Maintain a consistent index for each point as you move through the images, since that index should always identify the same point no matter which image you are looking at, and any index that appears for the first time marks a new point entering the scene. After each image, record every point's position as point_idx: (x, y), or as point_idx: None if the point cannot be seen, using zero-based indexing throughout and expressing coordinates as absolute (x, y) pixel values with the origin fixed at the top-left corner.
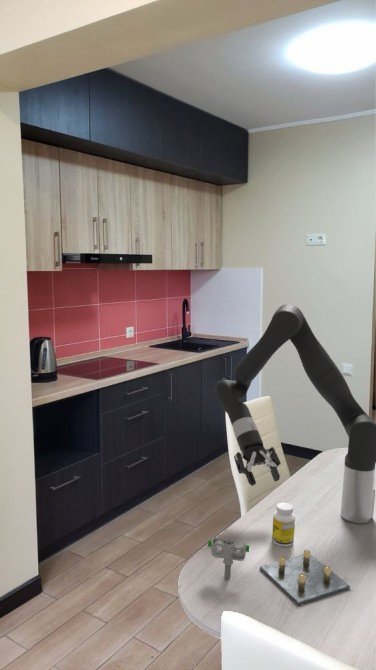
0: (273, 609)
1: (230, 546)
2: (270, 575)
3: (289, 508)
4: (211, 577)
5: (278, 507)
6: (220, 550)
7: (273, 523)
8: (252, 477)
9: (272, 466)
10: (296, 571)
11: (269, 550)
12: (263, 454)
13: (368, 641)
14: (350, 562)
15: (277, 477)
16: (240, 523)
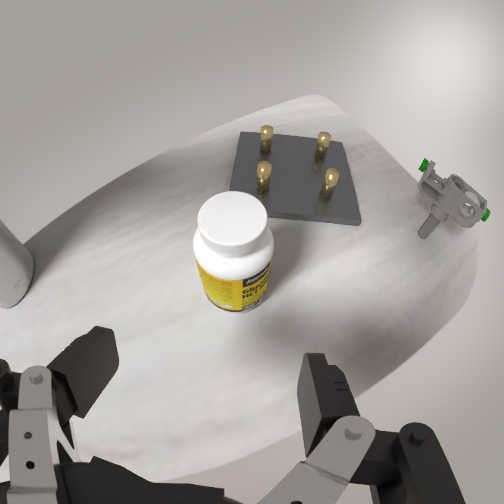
0: (376, 159)
1: (456, 177)
2: (354, 193)
3: (229, 197)
4: (444, 249)
5: (264, 219)
6: (463, 206)
7: (269, 269)
8: (329, 378)
9: (55, 394)
10: (299, 180)
11: (297, 271)
12: (35, 493)
13: (295, 99)
14: (171, 172)
15: (105, 330)
16: (285, 432)
